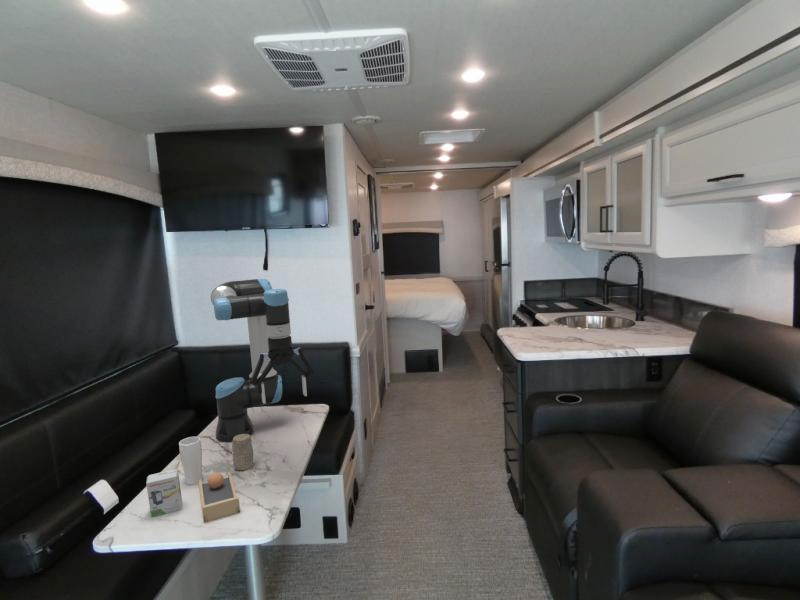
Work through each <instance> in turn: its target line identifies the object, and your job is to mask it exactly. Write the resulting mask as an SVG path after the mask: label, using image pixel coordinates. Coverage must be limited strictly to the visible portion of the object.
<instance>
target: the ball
mask: <svg viewBox="0 0 800 600" xmlns="http://www.w3.org/2000/svg"><path fill="white" fill-rule="evenodd" d="M224 479H225V478H224V475H223V474H222V473H220V472H217V471H216V472H213V473H211V474H210V475H209V476H208V478H207V483H208V485H209V487H211V488H213V489H216V488H219V487H220V486H221V485H222V484H223V482H224Z"/></svg>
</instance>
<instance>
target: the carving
mask: <svg viewBox="0 0 800 600" xmlns="http://www.w3.org/2000/svg"><path fill="white" fill-rule="evenodd" d="M231 449H232V451H231V452H232V461H233V462H232V463H233V468H234V469H235V470H237V471H248V470H250V469H251V468H252V467H253V466H254V454H255V453H254V446H253V440H252V435H249V434H239V435H237V436H235V437H234V438H233V441H231Z"/></svg>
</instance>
